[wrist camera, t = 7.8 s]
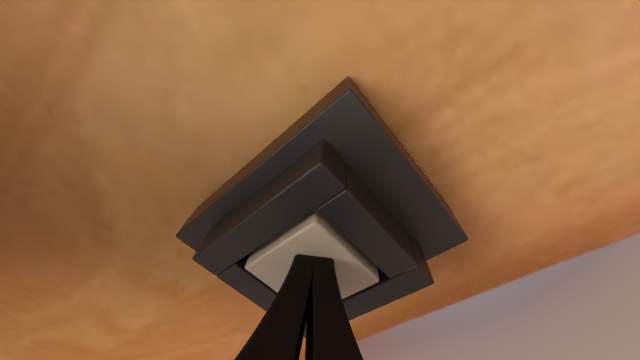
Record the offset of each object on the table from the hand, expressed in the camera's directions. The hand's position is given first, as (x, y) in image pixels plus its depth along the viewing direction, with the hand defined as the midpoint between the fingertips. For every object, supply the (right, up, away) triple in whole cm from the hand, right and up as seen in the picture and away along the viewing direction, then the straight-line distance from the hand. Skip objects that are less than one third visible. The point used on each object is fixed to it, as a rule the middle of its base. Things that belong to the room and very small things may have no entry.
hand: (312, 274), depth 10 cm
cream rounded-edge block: (0, +1, +2) cm, 2 cm away
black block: (0, +2, +4) cm, 4 cm away
